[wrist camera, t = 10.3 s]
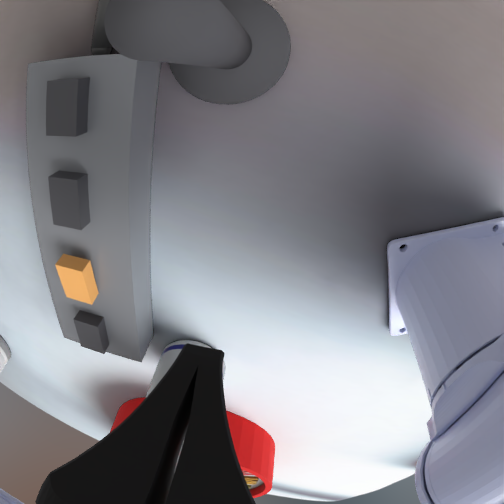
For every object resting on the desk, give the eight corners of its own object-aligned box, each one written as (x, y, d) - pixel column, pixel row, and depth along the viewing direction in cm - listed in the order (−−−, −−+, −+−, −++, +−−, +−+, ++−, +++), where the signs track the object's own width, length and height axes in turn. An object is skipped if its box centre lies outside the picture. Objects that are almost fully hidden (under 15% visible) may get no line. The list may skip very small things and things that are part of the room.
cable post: (271, -16, 11) (251, -121, 3) (303, 87, 14) (333, 97, 6) (159, 19, 13) (31, -17, 4) (191, 117, 16) (86, 173, 7)
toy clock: (292, 499, 31) (163, 494, 36) (293, 462, 36) (171, 463, 42) (227, 443, 22) (71, 432, 27) (236, 388, 27) (89, 395, 32)
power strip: (78, -40, 10) (38, -53, 7) (184, -56, 10) (158, -84, 7) (80, 313, 24) (58, 345, 21) (153, 334, 24) (137, 372, 21)
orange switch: (63, 253, 17) (55, 264, 16) (90, 260, 17) (82, 271, 16) (73, 286, 18) (66, 296, 18) (98, 293, 18) (92, 304, 18)
